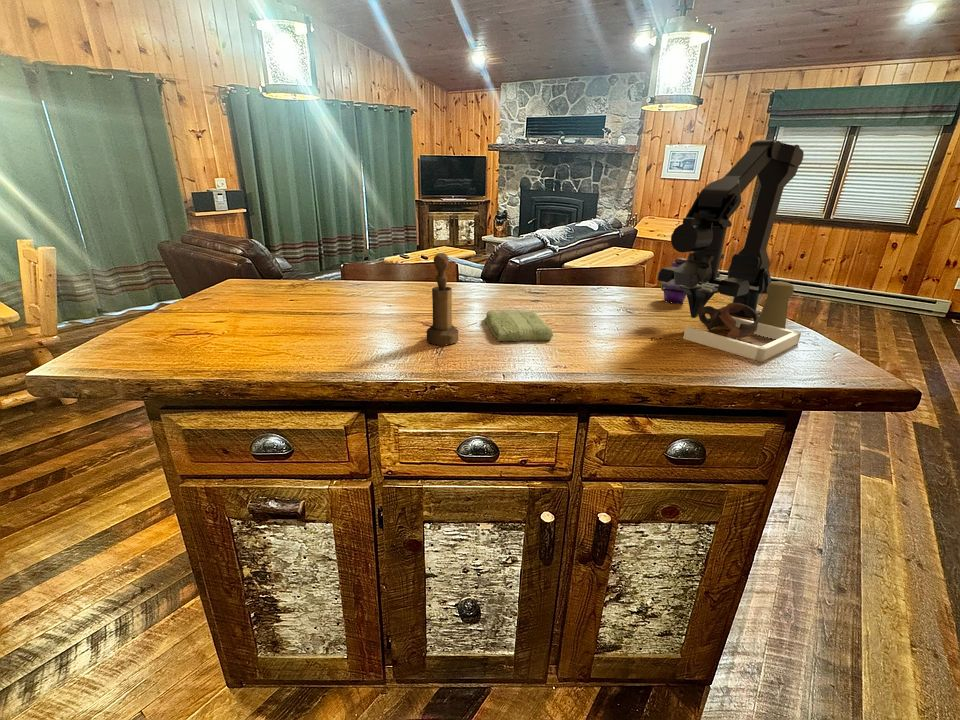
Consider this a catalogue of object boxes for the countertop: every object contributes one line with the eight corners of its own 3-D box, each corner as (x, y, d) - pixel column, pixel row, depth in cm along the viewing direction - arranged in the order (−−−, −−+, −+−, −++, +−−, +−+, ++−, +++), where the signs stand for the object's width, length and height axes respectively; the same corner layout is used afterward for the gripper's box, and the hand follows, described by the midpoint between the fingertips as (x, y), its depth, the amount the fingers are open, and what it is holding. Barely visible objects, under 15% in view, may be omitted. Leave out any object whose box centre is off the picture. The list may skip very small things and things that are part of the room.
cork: (789, 333, 106) (802, 286, 102) (760, 331, 107) (772, 284, 103) (779, 325, 112) (791, 280, 107) (751, 323, 113) (762, 278, 108)
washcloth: (535, 319, 115) (536, 306, 114) (555, 343, 99) (556, 328, 98) (482, 320, 113) (482, 307, 112) (494, 345, 97) (494, 330, 96)
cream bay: (722, 324, 112) (724, 314, 111) (797, 343, 100) (801, 332, 99) (683, 338, 102) (685, 327, 101) (761, 361, 90) (764, 349, 89)
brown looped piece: (743, 331, 108) (764, 306, 102) (741, 360, 103) (763, 336, 96) (692, 313, 110) (709, 288, 104) (687, 341, 105) (705, 316, 98)
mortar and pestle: (462, 337, 100) (463, 252, 93) (451, 347, 94) (450, 257, 87) (434, 334, 102) (432, 250, 95) (421, 343, 96) (418, 255, 89)
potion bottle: (654, 296, 136) (661, 255, 131) (685, 298, 135) (693, 256, 130) (661, 304, 128) (668, 260, 123) (694, 306, 127) (702, 261, 122)
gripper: (648, 245, 104) (638, 313, 110) (732, 259, 90) (715, 335, 96) (676, 242, 110) (665, 306, 116) (758, 254, 97) (741, 326, 103)
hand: (693, 317), depth 108 cm, fingers closed
